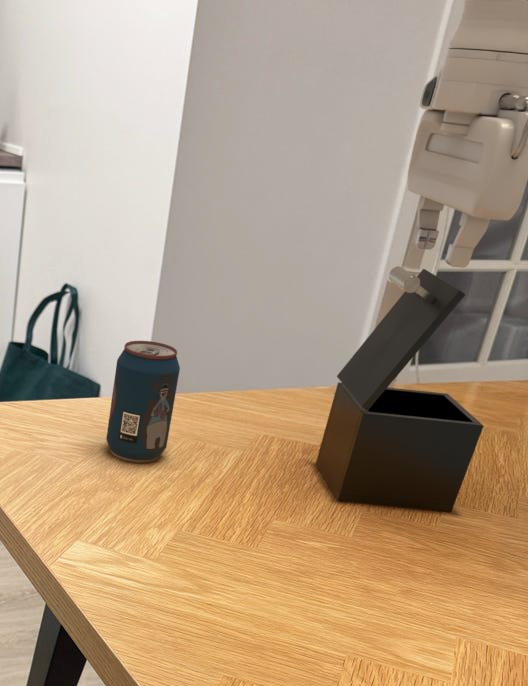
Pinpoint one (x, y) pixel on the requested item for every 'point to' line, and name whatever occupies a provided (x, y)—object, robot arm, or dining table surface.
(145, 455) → the soda can
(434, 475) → the bin
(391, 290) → the white round tapered piece
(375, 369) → the bin lid
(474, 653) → the dining table surface
